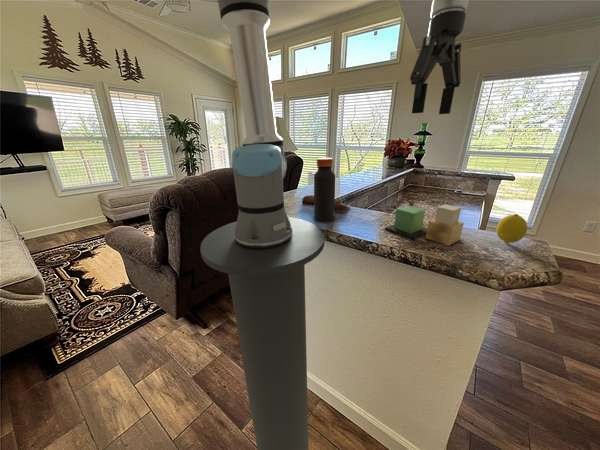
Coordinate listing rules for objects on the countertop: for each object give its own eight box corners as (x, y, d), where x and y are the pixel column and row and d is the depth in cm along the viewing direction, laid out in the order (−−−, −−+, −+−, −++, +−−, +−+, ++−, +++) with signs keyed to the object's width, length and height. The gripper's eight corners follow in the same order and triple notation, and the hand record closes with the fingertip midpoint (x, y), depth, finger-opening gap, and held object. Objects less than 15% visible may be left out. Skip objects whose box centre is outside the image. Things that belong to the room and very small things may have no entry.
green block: (393, 227, 70) (396, 208, 68) (404, 223, 73) (407, 205, 71) (410, 233, 66) (414, 213, 64) (421, 229, 69) (425, 209, 66)
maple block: (425, 238, 64) (428, 221, 63) (436, 232, 67) (440, 216, 66) (448, 246, 60) (452, 227, 58) (459, 239, 63) (463, 222, 61)
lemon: (493, 237, 64) (502, 209, 61) (520, 242, 60) (531, 213, 57) (492, 244, 60) (501, 214, 57) (521, 250, 57) (532, 219, 54)
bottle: (312, 216, 83) (311, 158, 76) (330, 214, 84) (331, 157, 77) (317, 223, 77) (317, 160, 70) (336, 221, 78) (338, 159, 71)
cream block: (434, 221, 62) (437, 206, 61) (442, 218, 64) (445, 204, 63) (450, 225, 59) (453, 210, 58) (457, 222, 61) (461, 207, 60)
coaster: (385, 229, 71) (385, 227, 70) (403, 222, 75) (403, 220, 75) (412, 239, 64) (413, 237, 64) (430, 231, 68) (431, 229, 68)
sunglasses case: (351, 206, 90) (347, 194, 86) (343, 220, 87) (338, 207, 83) (313, 199, 101) (308, 188, 97) (305, 211, 98) (299, 199, 94)
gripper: (436, -6, 47) (418, 111, 55) (487, 21, 60) (467, 113, 68) (402, 9, 53) (391, 113, 61) (456, 31, 66) (441, 115, 73)
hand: (431, 113), depth 64 cm, fingers open, 13 cm apart
